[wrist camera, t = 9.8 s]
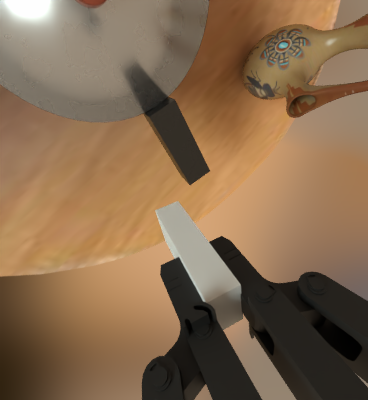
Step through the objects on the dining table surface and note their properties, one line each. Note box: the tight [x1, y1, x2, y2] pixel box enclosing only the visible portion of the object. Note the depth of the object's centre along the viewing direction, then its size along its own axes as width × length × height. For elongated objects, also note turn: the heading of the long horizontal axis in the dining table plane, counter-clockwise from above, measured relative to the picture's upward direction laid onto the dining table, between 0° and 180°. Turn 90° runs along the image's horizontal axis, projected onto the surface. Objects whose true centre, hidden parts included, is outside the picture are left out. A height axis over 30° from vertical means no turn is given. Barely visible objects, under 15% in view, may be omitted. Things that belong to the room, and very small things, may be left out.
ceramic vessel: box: [242, 14, 368, 118], centre depth 33 cm, size 16×9×25 cm, turn 134°
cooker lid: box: [0, 0, 210, 185], centre depth 21 cm, size 32×22×3 cm
